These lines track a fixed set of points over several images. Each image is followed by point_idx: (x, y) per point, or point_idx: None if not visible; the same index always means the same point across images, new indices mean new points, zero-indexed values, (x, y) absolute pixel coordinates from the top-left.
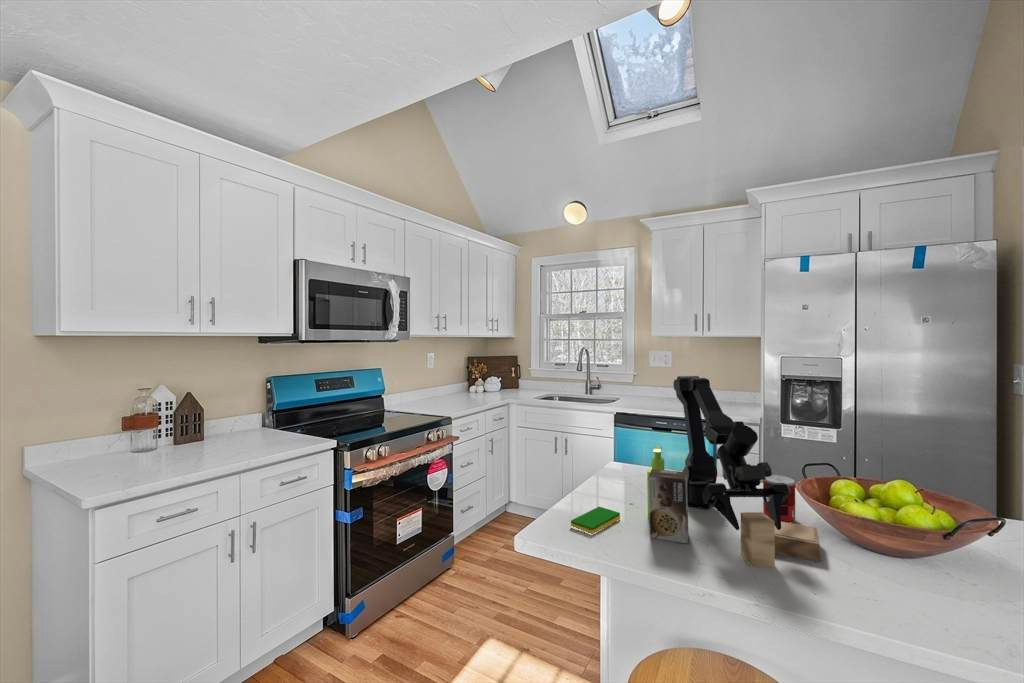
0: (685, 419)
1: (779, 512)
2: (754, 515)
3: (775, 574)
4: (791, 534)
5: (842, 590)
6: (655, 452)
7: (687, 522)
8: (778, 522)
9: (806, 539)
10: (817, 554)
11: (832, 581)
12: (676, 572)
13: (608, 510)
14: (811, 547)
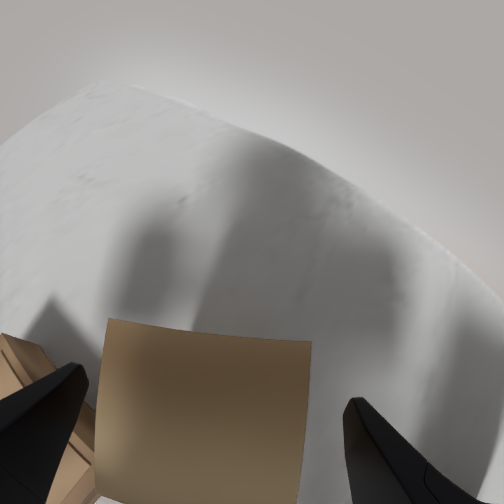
0: None
1: (1, 404)
2: (199, 465)
3: (220, 302)
4: None
5: (104, 209)
6: None
7: None
8: (59, 379)
9: (10, 373)
10: (27, 344)
11: (88, 247)
12: (484, 322)
13: None
14: (23, 353)
